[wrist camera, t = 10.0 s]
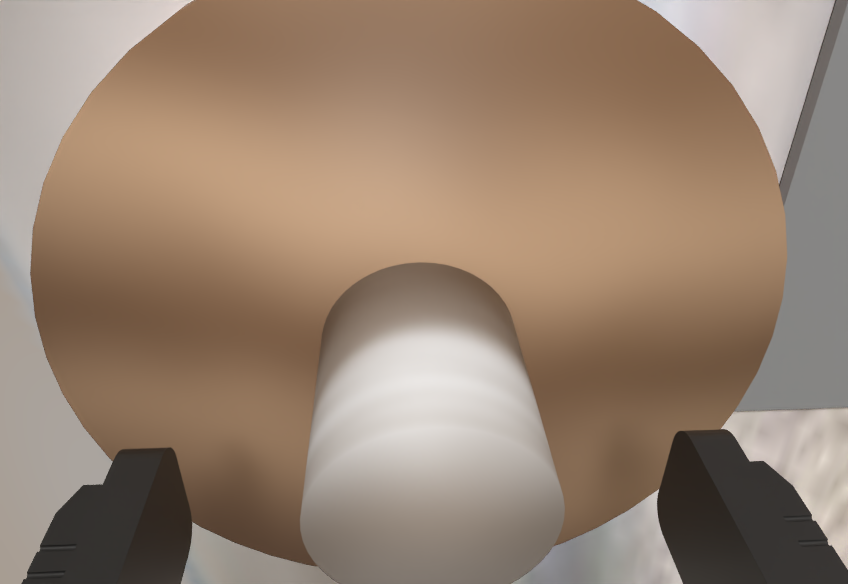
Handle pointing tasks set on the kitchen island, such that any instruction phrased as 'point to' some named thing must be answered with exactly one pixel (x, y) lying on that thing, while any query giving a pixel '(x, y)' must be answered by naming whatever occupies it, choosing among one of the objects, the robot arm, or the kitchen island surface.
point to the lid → (409, 271)
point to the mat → (814, 248)
